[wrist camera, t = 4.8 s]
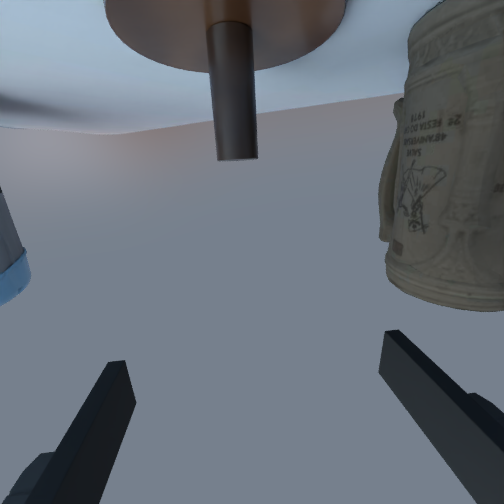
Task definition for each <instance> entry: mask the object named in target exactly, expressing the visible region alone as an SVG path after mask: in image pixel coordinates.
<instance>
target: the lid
mask: <svg viewBox="0 0 504 504" xmlns="http://www.w3.org/2000/svg"><path fill="white" fill-rule="evenodd" d="M103 1H104V7H105V12H106V17H107V19H108V22H109V24H110V26H111V28H112V29H113V31H114V32H115V34H116V35H117V36H118V37H119V38H120V39H121V41H122V42H123V43H125V44H126V45H127V46H128V47H130V48H131V49H132V50H134V51H136V52H137V53H139V54H141V55H142V56H144V57H146V58H148V59H151V60H153V61H156V62H158V63H161V64H164V65H167V66H171V67H174V68H178V69H183V70H188V71H195V72H204V73H209V75H210V86H211V97H212V108H213V118H214V129H215V140H216V150H217V160H218V161H238V160H254V159H258V146H257V123H256V99H255V76H254V71H257V70H262V69H267V68H271V67H275V66H279V65H282V64H285V63H288V62H290V61H293V60H295V59H298V58H300V57H302V56H304V55H306V54H308V53H309V52H311V51H313V50H315V49H316V48H317V47H319V46H320V45H322V44H323V43H324V42H325V41H326V40H327V39H329V37H330V36H331V35H332V34H333V33H334V32H335V31H336V29H337V28H338V26H339V25H340V23H341V20H342V18H343V16H344V12H345V7H346V0H103Z"/></svg>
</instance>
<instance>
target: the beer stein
mask: <svg viewBox="0 0 504 504" xmlns="http://www.w3.org/2000/svg"><path fill="white" fill-rule="evenodd" d="M408 59H409V64H410V65H409V72H408V77H407V80H406V82H405V85H404V91H405V92H404V98H400V99H399V100H397V101H396V102H395V104H394V110H393V113H394V115H395V118H396V120H397V130H396V134H395V138H394V140H393V143H392V146H391V148H390V150H389V153H388V156H387V158H386V161H385V164H384V167H383V171H382V174H381V179H380V183H379V193H378V198H379V213H380V232H379V238H380V240H381V241H384V242H390V243H389V248H388V251H387V253H386V256H385V263H386V274H387V277H388V279H389V281H390V282H391V283H392V284H394V285H395V286H396V287H397V288H399V289H400V290H401V291H403V292H405V293H406V294H409V295H412V296H414V297H416V298H419V299H422V300H424V301H427V302H430V303H434V304H437V305H441V306H446V307H451V308H455V309H461V310H470V311H479V312H496V311H504V0H445V1H443V2H442V3H440V4H439V5H437V6H436V7H435V8H433V9H432V10H431V11H429V12H428V13H427V14H426V15H424V16H423V17H422V18H421V19H420V20H419V21H418V22H417V23H416V24H415V25H414V26H413V28H412V30H411V32H410V34H409V38H408Z"/></svg>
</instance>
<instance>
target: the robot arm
mask: <svg viewBox="0 0 504 504" xmlns="http://www.w3.org/2000/svg"><path fill="white" fill-rule="evenodd" d="M26 253H27V251H26V249H25V248H24V247H22V244H21V242H20V239H19V236H18V234H17V231H16V228H15V226H14V223H13V220H12V218H11V215H10V212H9V209H8V206H7V204H6V201H5V198H4V195H3V193H2V190H1V187H0V306H2V305H3V304H5V303H7V302H8V301H10V300H11V299H13V298H14V297H16V295H18V294H19V293H21V292H22V291H23V290H24V289H25V288H26V287H27V285H28V283H29V282H30V279H31V272H30V268H29V265H28V261H27V257H26ZM379 374H380V375H381V376H382V378H383V379H384V380H385V382H386V383H387V384H388V386H389V387H390V388H391V390H392V391H393V392H394V394H395V395H396V396H397V398H398V399H399V400H400V401H401V403H402V404H403V406H404V407H405V408H406V410H407V411H408V412H409V413H410V415H411V416H412V418H413V419H414V420H415V422H416V423H417V424H418V426H419V427H420V428H421V429H422V431H423V432H424V434H425V435H426V436H427V437H428V439H429V440H430V442H431V443H432V444H433V446H434V447H435V448H436V450H437V451H438V452H439V454H440V455H441V456H442V458H443V459H444V460H445V462H446V463H447V464H448V465H449V467H450V468H451V469H452V471H453V472H454V473H455V475H456V476H457V478H458V479H459V480H460V482H461V483H462V484H463V485H464V487H465V488H466V489H467V491H468V492H469V493H470V495H471V496H472V497H473V499H474V500H475V501H476V503H477V504H504V413H503V412H502V411H501V410H499V409H498V408H497V407H496V406H495V405H494V404H493V403H491V402H490V401H488V400H486V399H485V398H483V397H481V396H480V395H478V394H476V393H469V394H467V393H466V392H465V391H464V390H463V389H462V388H461V387H460V386H459V385H458V384H457V383H455V382H454V381H453V380H452V379H451V378H450V377H449V376H448V375H447V374H446V373H445V372H444V371H443V370H441V369H440V368H439V367H438V366H437V365H436V364H435V363H434V362H433V361H432V360H431V359H430V358H429V357H427V356H426V355H425V354H424V353H423V352H422V351H421V350H420V349H419V348H418V347H417V346H416V345H415V344H413V343H412V342H411V341H410V340H409V339H408V338H407V337H406V336H405V335H404V334H403V333H402V332H401V331H399V330H391V331H385V334H384V341H383V347H382V353H381V359H380V366H379ZM135 405H136V400H135V396H134V392H133V388H132V385H131V381H130V377H129V374H128V370H127V366H126V362H125V360H122V361H113V362H108V363H107V365H106V367H105V368H104V370H103V372H102V373H101V375H100V377H99V378H98V380H97V382H96V383H95V385H94V387H93V388H92V390H91V392H90V394H89V395H88V397H87V399H86V400H85V402H84V404H83V405H82V407H81V409H80V410H79V412H78V414H77V416H76V417H75V419H74V420H73V422H72V424H71V426H70V427H69V429H68V431H67V433H66V434H65V436H64V437H63V439H62V441H61V442H60V444H59V446H58V447H57V449H56V451H55V452H49V453H41V454H40V455H39V456H38V457H37V458H36V459H35V460H34V461H33V462H32V463H31V464H30V465H29V466H28V467H27V468H26V469H25V470H24V471H23V473H22V474H21V475H20V477H19V479H18V480H17V481H16V483H15V485H14V486H13V488H12V489H11V491H10V494H9V495H8V496H7V497H6V498H5V500H4V501H3V503H2V504H99V502H100V500H101V497H102V494H103V491H104V489H105V486H106V483H107V481H108V478H109V475H110V473H111V470H112V467H113V465H114V462H115V459H116V457H117V454H118V451H119V449H120V445H121V443H122V440H123V438H124V435H125V432H126V430H127V427H128V424H129V421H130V419H131V416H132V414H133V411H134V408H135Z"/></svg>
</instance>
